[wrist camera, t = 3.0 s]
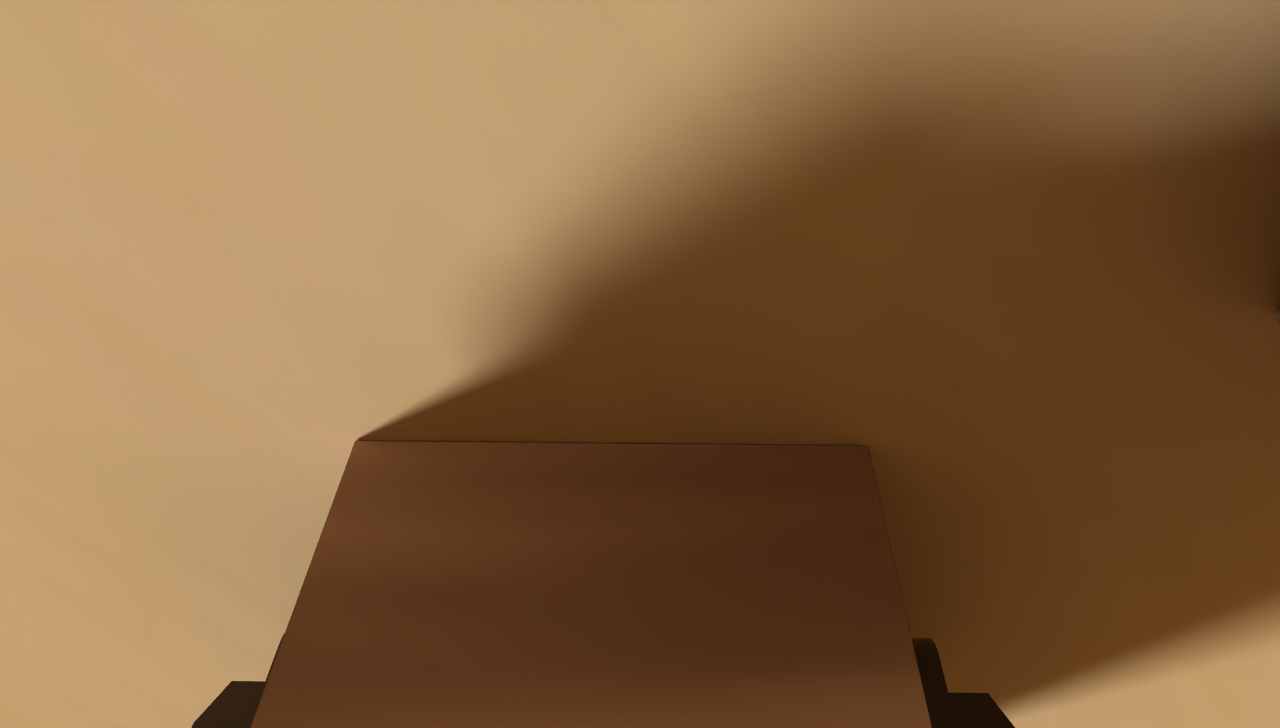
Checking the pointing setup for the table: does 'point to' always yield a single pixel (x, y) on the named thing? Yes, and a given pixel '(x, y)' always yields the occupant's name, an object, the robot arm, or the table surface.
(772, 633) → the walnut block
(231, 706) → the robot arm
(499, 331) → the table surface
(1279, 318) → the slate base
